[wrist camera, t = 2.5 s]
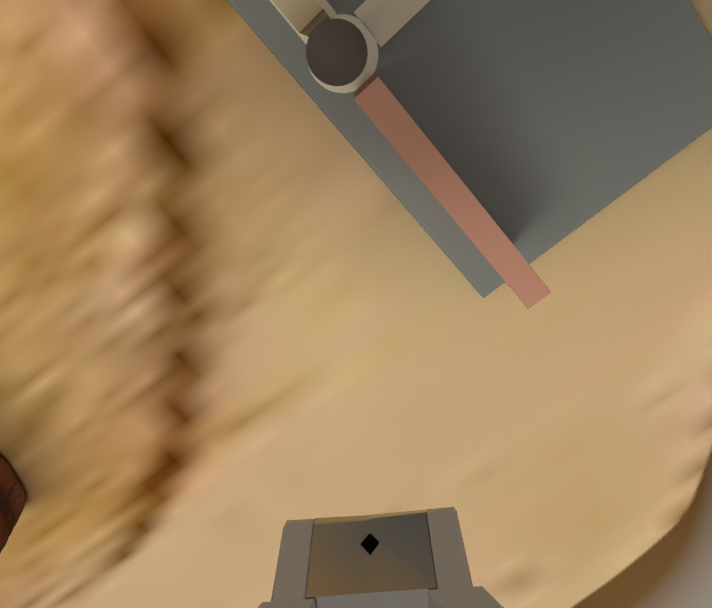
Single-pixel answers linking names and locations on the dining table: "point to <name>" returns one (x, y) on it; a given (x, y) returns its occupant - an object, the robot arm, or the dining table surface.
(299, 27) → the fixed fence panel
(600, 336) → the dining table surface
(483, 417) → the dining table surface
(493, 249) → the hinged fence panel
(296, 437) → the dining table surface
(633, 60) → the card
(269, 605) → the robot arm
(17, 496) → the wooden figurine
